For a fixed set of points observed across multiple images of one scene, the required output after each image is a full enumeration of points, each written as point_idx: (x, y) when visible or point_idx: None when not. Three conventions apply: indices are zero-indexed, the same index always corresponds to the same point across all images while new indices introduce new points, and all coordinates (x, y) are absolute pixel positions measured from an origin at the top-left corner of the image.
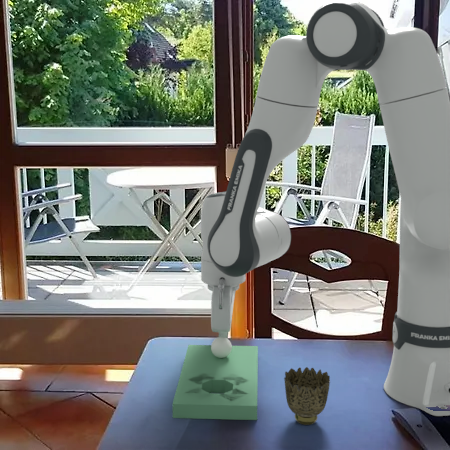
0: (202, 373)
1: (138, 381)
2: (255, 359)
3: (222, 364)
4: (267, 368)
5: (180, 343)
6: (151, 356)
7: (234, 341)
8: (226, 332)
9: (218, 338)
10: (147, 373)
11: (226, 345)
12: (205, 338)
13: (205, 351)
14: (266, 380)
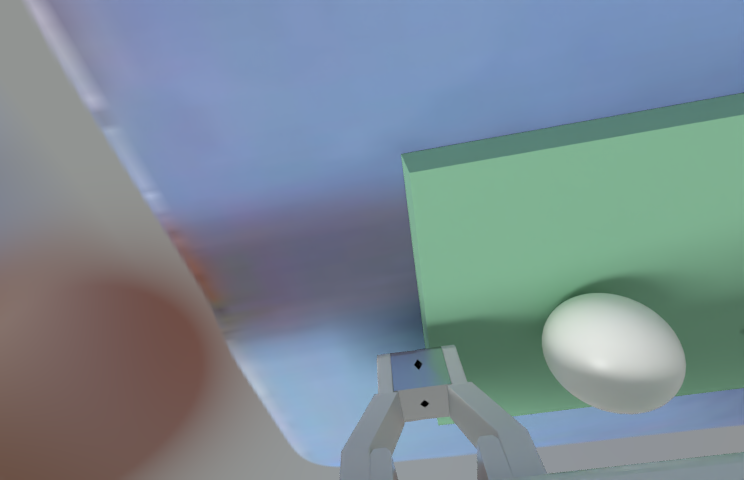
0: (738, 336)
1: (609, 433)
2: (631, 148)
3: (663, 291)
4: (538, 73)
5: (327, 420)
6: (442, 448)
7: (235, 288)
8: (467, 382)
9: (654, 409)
10: (559, 430)
11: (681, 345)
12: (253, 377)
13: (504, 371)
14: (700, 50)
